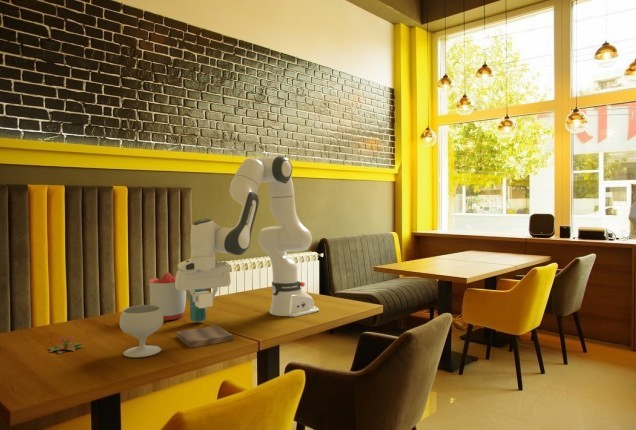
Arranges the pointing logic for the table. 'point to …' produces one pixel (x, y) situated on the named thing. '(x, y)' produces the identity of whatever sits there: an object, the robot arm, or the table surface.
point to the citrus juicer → (167, 297)
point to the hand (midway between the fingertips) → (203, 300)
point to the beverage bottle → (197, 309)
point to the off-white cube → (204, 299)
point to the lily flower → (65, 346)
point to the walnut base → (204, 336)
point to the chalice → (141, 327)
